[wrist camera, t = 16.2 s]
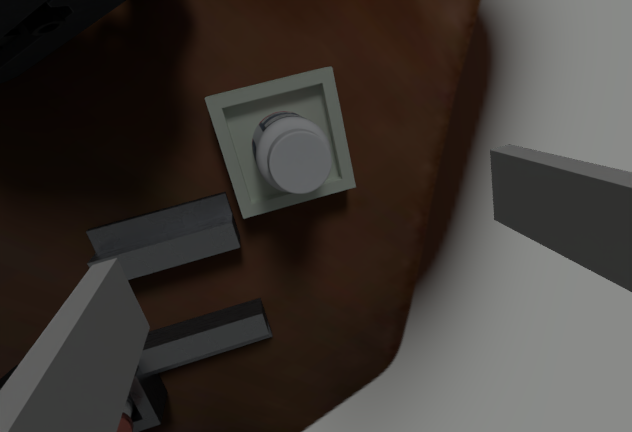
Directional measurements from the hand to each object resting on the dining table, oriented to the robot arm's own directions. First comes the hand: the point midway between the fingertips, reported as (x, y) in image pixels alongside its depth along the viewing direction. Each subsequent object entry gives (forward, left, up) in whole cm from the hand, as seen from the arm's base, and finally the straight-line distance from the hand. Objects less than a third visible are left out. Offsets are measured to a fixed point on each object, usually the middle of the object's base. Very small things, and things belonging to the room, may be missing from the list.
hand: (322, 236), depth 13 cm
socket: (-11, -11, -22) cm, 27 cm away
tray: (+1, 0, -22) cm, 22 cm away
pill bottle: (+1, 0, -20) cm, 21 cm away
